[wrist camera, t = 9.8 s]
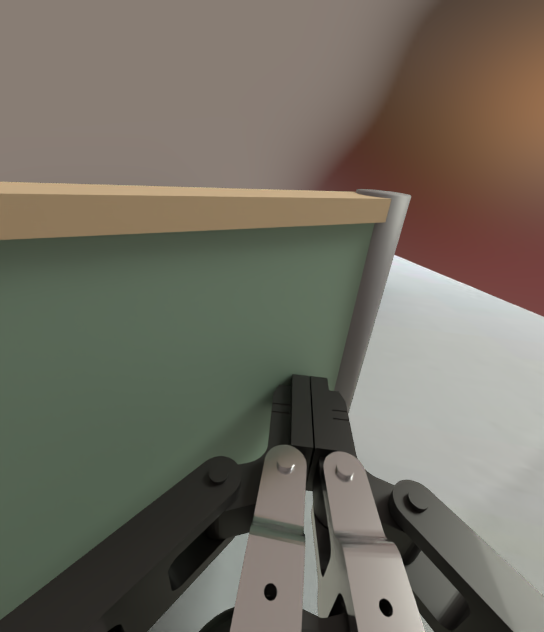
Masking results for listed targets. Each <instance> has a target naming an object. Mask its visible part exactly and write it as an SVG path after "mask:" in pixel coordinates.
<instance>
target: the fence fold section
mask: <svg viewBox="0 0 544 632" xmlns="http://www.w3.org/2000/svg"><path fill="white" fill-rule="evenodd" d="M410 198H411V195H407V194H402V193H395V192H389V191H380V190H369V189H368V190H367V189H357V190H356V192H339V191H303V190H270V189H268V190H267V189H234V188H200V187H162V186H130V185H128V186H127V185H93V184H60V183H58V184H57V183H25V182H0V620H1V619H2V618H3V617H5V616H6V615H7V614H9V613H10V612H11V611H13V610H14V609H15V608H16V607H18V606H19V605H20V604H22V603H23V602H24V601H25V600H27V599H28V598H29V597H31V596H32V595H33V594H34V593H36V592H37V591H38V590H40V589H41V588H42V587H44V586H45V585H46V584H47V583H49V582H50V581H51V580H53V579H54V578H55V577H56V576H58V575H59V574H60V573H62V572H63V571H64V570H66V569H67V568H68V567H69V566H71V565H72V564H73V563H75V562H76V561H77V560H78V559H80V558H81V557H82V556H84V555H85V554H86V553H87V552H89V551H90V550H91V549H93V548H94V547H95V546H97V545H98V544H99V543H100V542H102V541H103V540H104V539H106V538H107V537H108V536H109V535H111V534H112V533H113V532H115V531H116V530H117V529H119V528H120V527H121V526H122V525H124V524H125V523H126V522H128V521H129V520H130V519H131V518H133V517H134V516H135V515H137V514H138V513H139V512H140V511H142V510H143V509H144V508H146V507H147V506H148V505H150V504H151V503H152V502H153V501H155V500H156V499H157V498H159V497H160V496H161V495H162V494H164V493H165V492H166V491H168V490H169V489H170V488H172V487H173V486H174V485H175V484H177V483H178V482H179V481H181V480H182V479H183V478H184V477H186V476H187V475H188V474H190V473H191V472H192V471H193V470H195V469H196V468H197V467H199V466H200V465H201V464H203V463H204V462H205V461H207V460H208V459H210V458H213V457H216V456H225V457H229V458H231V459H233V460H234V461H235V462H236V463H237V464H243V463H248V462H252V461H255V460H257V459H258V458H260V457H261V456H262V455H263V454H264V453H265V451H266V450H267V447H268V439H269V429H270V419H271V410H272V402H273V393H274V391H275V390H276V388H277V387H278V386H279V385H287V386H290V385H291V378H292V374H297V375H306V376H309V377H310V376H315V377H324V378H327V379H328V386H329V390H331V391H339V393H340V394H341V396H342V397H343V398H344V400H345V402H346V407H347V413H349V409H350V406H351V402H352V399H353V396H354V392H355V389H356V385H357V382H358V378H359V375H360V371H361V368H362V364H363V361H364V357H365V354H366V351H367V347H368V344H369V340H370V337H371V333H372V330H373V326H374V323H375V319H376V316H377V312H378V309H379V305H380V302H381V299H382V295H383V292H384V288H385V285H386V281H387V278H388V274H389V271H390V267H391V264H392V260H393V257H394V253H395V250H396V247H397V243H398V240H399V236H400V233H401V229H402V226H403V222H404V219H405V215H406V212H407V208H408V205H409V202H410Z"/></svg>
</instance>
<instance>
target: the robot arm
mask: <svg viewBox="0 0 544 632" xmlns="http://www.w3.org/2000/svg"><path fill="white" fill-rule="evenodd" d="M305 490H307V491H313V505H312V509H311V519H312V529H313V538H314V547H315V556H316V565H317V575H318V595H317V606H318V616H316V615H314V614H312V613H310V612H308V611H306V610H304V609H302V606H303V583H304V561H305V534H304V508H305ZM248 532H249V537H248V542H247V547H246V552H245V557H244V562H243V567H242V572H241V577H240V582H239V588H238V593H237V598H236V603H235V607H233V608H230V609H228V610H226V611H224V612H222V613H220V614H219V615H217V616H216V617H214V618H213V619H212V620H211V621H209V622H208V623H207V624H206V625H205V626H204V627H203V628H202V629H201V630H200V631H199V632H425V629H424V626H423V623H422V620H421V617H420V614H421V615H422V617H423V618H424V619H425V620H426V622H427V623H428V624H429V626H430V627H431V628H432V629H433V631H434V632H544V595H543V594H541V593H540V592H539V591H538V590H537V589H536V588H535V587H534V586H533V585H532V584H531V583H529V582H528V581H527V580H526V579H525V578H524V577H523V576H522V575H521V574H520V573H519V572H518V571H516V570H515V569H514V568H513V567H512V566H511V565H510V564H509V563H508V562H507V561H506V560H505V559H503V558H502V557H501V556H500V555H499V554H498V553H497V552H496V551H495V550H494V549H493V548H491V547H490V546H489V545H488V544H487V543H486V542H485V541H484V540H483V539H482V538H481V537H480V536H478V535H477V534H476V533H475V532H474V531H473V530H472V529H471V528H470V527H469V526H468V525H467V524H465V523H464V522H463V521H462V520H461V519H460V518H459V517H458V516H457V515H456V514H455V513H453V512H452V511H451V510H450V509H449V508H448V507H447V506H446V505H445V504H444V503H443V502H442V501H440V500H439V499H438V498H437V497H436V496H435V495H434V494H433V493H432V492H431V491H430V490H428V489H427V488H426V487H425V486H423V485H422V484H420V483H418V482H415V481H411V480H402V481H399V482H398V483H397V484H396V485H392V484H390V483H388V482H385V481H383V480H381V479H379V478H376V477H374V476H373V475H371V474H370V473H369V472H367V471H366V470H365V469H364V467H363V465H362V464H361V462H360V461H359V460H358V459H357V456H356V452H355V447H354V442H353V437H352V432H351V427H350V422H349V417H348V413H347V407H346V402H345V400H344V398H343V397H342V396H341V394H340V393H339V391H331V390H329V386H328V379H327V378H324V377H315V376H310V377H309V376H306V375H297V374H292V378H291V385H290V386H287V385H279V386H278V387H277V388H276V390H275V391H274V393H273V402H272V410H271V419H270V429H269V439H268V447H267V450H266V451H265V453H264V454H263V455H262V456H261V457H260V458H258V459H257V460H255V461H252V462H248V463H243V464H237V463H236V462H235V461H234V460H233V459H231V458H229V457H225V456H216V457H213V458H210V459H208V460H207V461H205V462H204V463H203V464H201V465H200V466H199V467H197V468H196V469H195V470H193V471H192V472H191V473H190V474H188V475H187V476H186V477H184V478H183V479H182V480H181V481H179V482H178V483H177V484H175V485H174V486H173V487H172V488H170V489H169V490H168V491H166V492H165V493H164V494H162V495H161V496H160V497H159V498H157V499H156V500H155V501H153V502H152V503H151V504H150V505H148V506H147V507H146V508H144V509H143V510H142V511H140V512H139V513H138V514H137V515H135V516H134V517H133V518H131V519H130V520H129V521H128V522H126V523H125V524H124V525H122V526H121V527H120V528H119V529H117V530H116V531H115V532H113V533H112V534H111V535H109V536H108V537H107V538H106V539H104V540H103V541H102V542H100V543H99V544H98V545H97V546H95V547H94V548H93V549H91V550H90V551H89V552H87V553H86V554H85V555H84V556H82V557H81V558H80V559H78V560H77V561H76V562H75V563H73V564H72V565H71V566H69V567H68V568H67V569H66V570H64V571H63V572H62V573H60V574H59V575H58V576H56V577H55V578H54V579H53V580H51V581H50V582H49V583H47V584H46V585H45V586H44V587H42V588H41V589H40V590H38V591H37V592H36V593H34V594H33V595H32V596H31V597H29V598H28V599H27V600H25V601H24V602H23V603H22V604H20V605H19V606H18V607H16V608H15V609H14V610H13V611H11V612H10V613H9V614H7V615H6V616H5V617H3V618H2V619H1V620H0V632H147V631H148V630H149V629H150V628H151V627H152V626H153V625H154V624H155V623H156V621H157V620H158V619H159V618H160V617H161V616H162V615H163V614H164V613H165V612H166V611H167V610H168V609H169V607H170V606H171V605H172V604H173V603H174V602H175V601H176V600H177V599H178V598H179V597H180V596H181V595H182V594H183V592H184V591H185V590H186V589H187V588H188V587H189V586H190V585H191V584H192V583H193V582H194V581H195V580H196V578H197V577H198V576H199V575H200V574H201V573H202V572H203V571H204V570H205V569H206V568H207V567H208V566H209V564H210V563H211V562H212V561H213V560H214V559H215V558H216V557H217V556H218V555H219V554H220V553H221V552H222V550H223V549H224V548H225V547H226V546H227V545H228V544H229V543H230V542H231V541H232V540H233V538H234V537H235V536H237V535H241V534H245V533H248ZM419 613H420V614H419Z"/></svg>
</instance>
